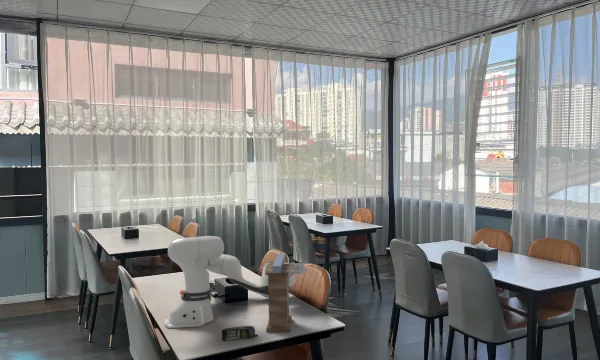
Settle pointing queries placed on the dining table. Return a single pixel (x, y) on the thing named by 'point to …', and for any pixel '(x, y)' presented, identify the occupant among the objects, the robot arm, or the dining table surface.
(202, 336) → the dining table surface
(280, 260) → the batten
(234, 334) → the mobile phone
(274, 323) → the pedestal
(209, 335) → the dining table surface
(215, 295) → the graphics card
